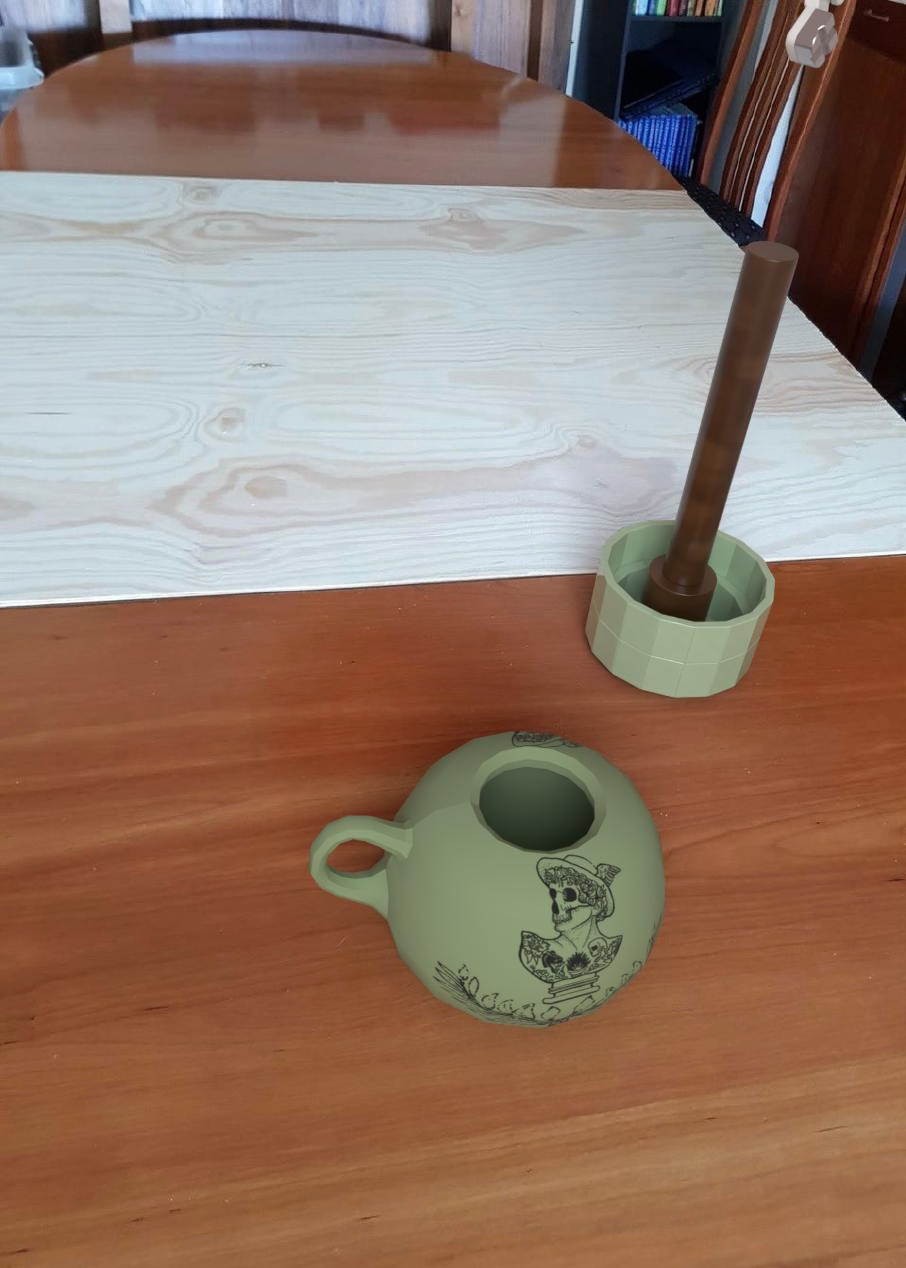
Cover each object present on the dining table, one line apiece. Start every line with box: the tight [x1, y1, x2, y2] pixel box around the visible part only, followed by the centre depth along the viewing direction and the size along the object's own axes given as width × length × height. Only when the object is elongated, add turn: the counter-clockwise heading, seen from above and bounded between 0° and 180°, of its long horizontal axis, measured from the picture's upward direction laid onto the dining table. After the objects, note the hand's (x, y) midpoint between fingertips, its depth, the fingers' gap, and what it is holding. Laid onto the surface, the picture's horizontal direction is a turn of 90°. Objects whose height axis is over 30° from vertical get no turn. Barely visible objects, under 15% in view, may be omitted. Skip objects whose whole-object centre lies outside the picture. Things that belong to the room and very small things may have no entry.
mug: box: [307, 730, 667, 1029], centre depth 47 cm, size 16×13×9 cm
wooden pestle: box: [640, 240, 800, 622], centre depth 57 cm, size 4×4×24 cm
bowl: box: [584, 519, 776, 699], centre depth 63 cm, size 10×10×6 cm
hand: (889, 81), depth 47 cm, fingers open, 8 cm apart
